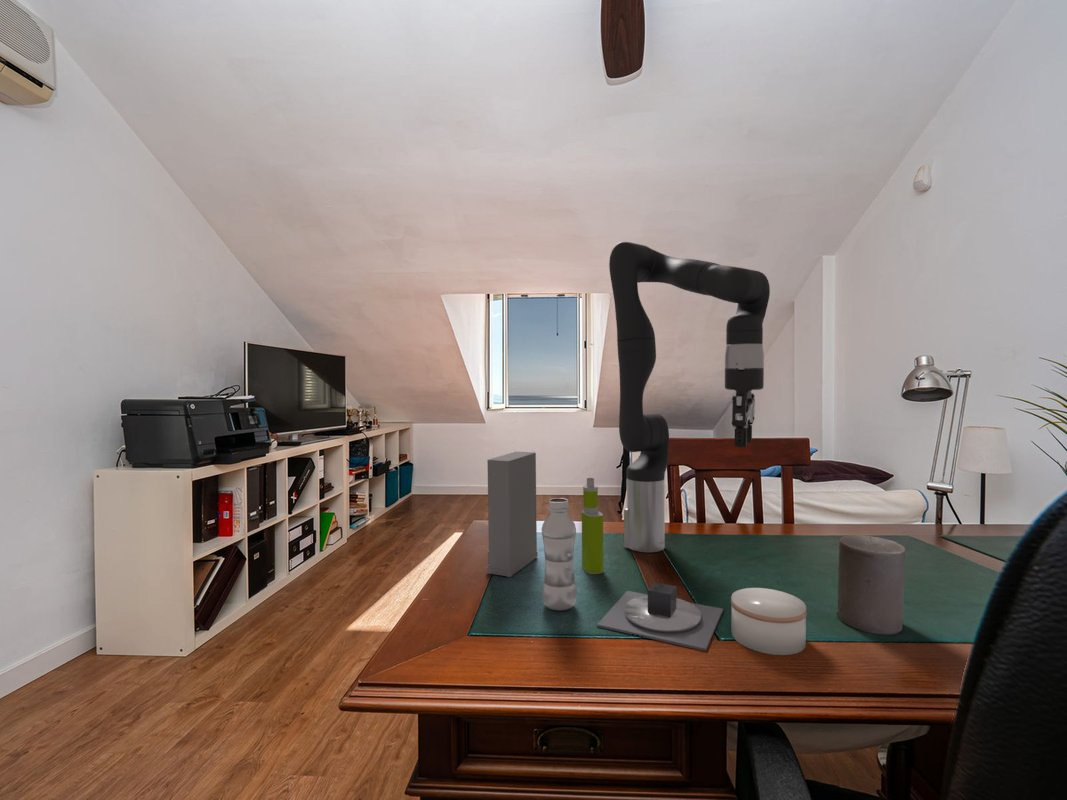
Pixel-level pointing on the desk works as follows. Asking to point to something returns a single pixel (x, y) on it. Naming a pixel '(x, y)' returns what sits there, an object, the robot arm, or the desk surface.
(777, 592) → the dish
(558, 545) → the plastic bottle
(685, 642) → the mat
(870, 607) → the pillar candle
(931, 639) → the desk surface
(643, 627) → the lid
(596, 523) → the vape
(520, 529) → the upright grey slab box
